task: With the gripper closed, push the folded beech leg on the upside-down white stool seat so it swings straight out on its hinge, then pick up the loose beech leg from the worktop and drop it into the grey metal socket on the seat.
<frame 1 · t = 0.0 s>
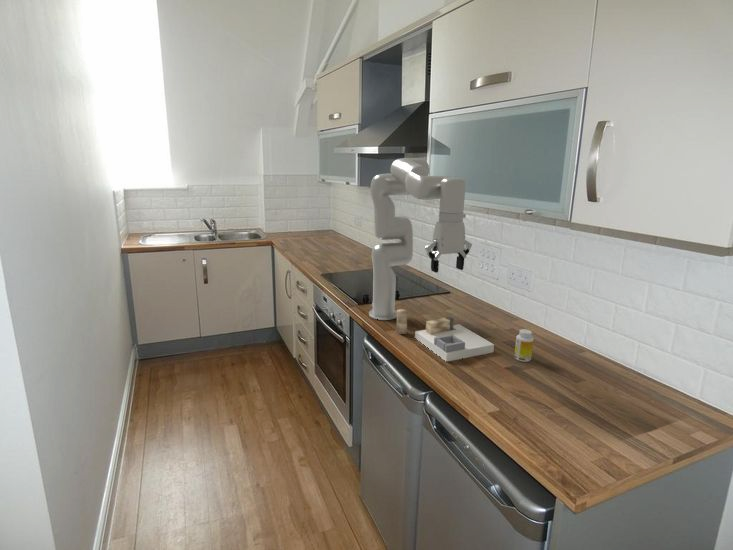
hand: (447, 270, 145), 31 cm above the worktop, tool pointing down, fingers open, 9 cm apart
loose leg: (401, 332, 175), on the worktop
supplement bottle: (522, 359, 154), on the worktop
stool seat: (452, 345, 164), on the worktop
folding leg: (440, 325, 169), point 5 cm above the worktop, hinge at -85.0°
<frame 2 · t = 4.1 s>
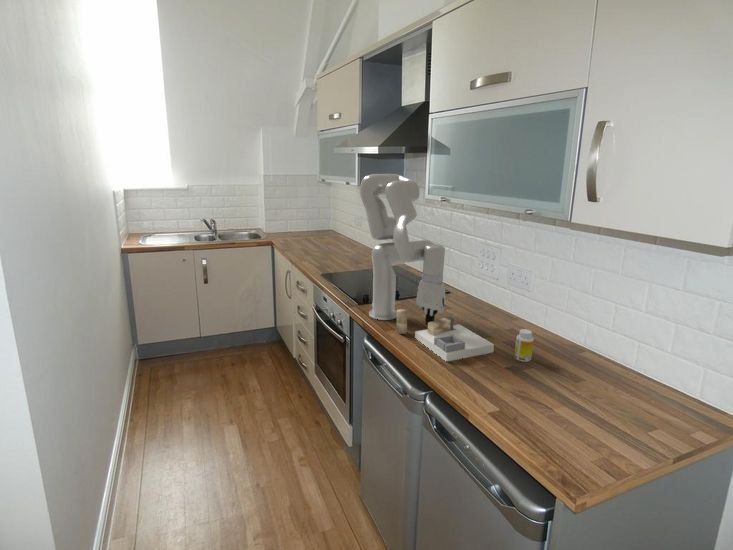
hand: (429, 324, 169), 5 cm above the worktop, tool pointing down, fingers closed
folding leg: (441, 325, 169), point 5 cm above the worktop, hinge at -77.5°, touching gripper
everything else where it was.
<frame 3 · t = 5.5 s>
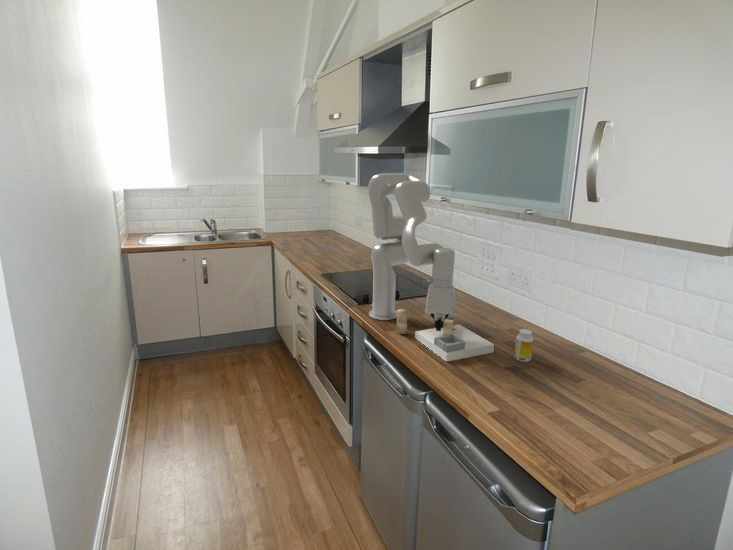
hand: (438, 329, 165), 5 cm above the worktop, tool pointing down, fingers closed
folding leg: (448, 327, 167), point 5 cm above the worktop, hinge at -38.6°, touching gripper
everything else where it was.
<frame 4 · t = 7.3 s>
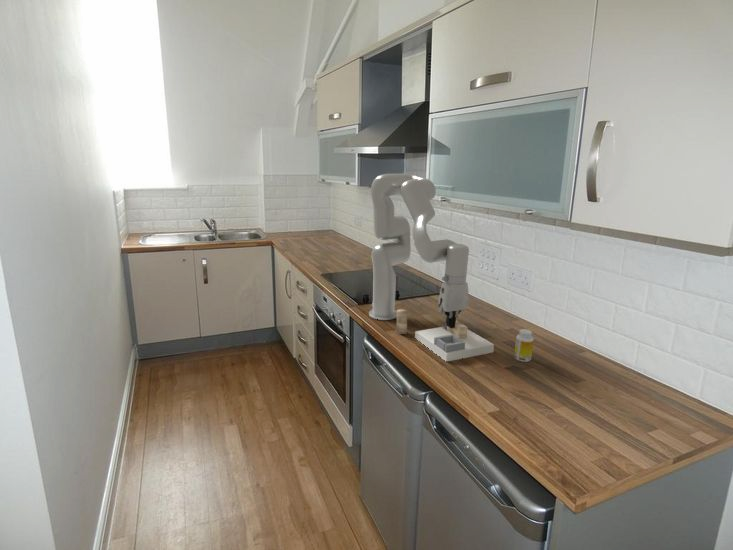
hand: (450, 326, 163), 7 cm above the worktop, tool pointing down, fingers closed
folding leg: (455, 327, 167), point 5 cm above the worktop, hinge at -3.4°
everything else where it was.
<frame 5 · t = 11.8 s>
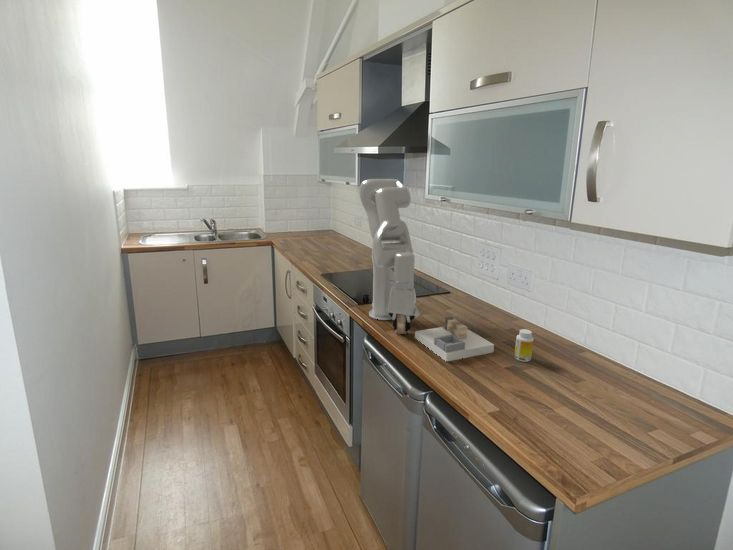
hand: (401, 329, 174), 2 cm above the worktop, tool pointing down, fingers closed on loose leg, 4 cm apart
loose leg: (401, 332, 175), on the worktop, touching gripper
everything else where it was.
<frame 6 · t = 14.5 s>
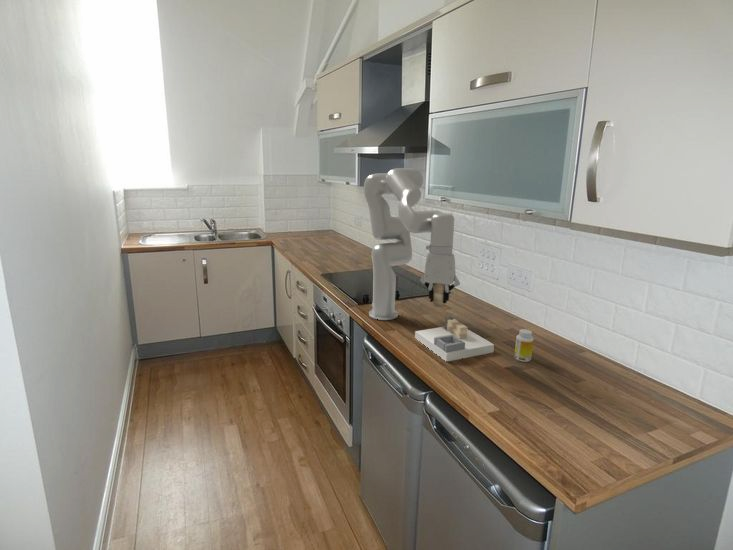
hand: (438, 301, 156), 18 cm above the worktop, tool pointing down, fingers closed on loose leg, 4 cm apart
loose leg: (438, 305, 156), point 17 cm above the worktop, touching gripper
everything else where it was.
when the fingers open (6 cm above the worktop, at t = 17.5 s): loose leg drops 1 cm, resting on stool seat.
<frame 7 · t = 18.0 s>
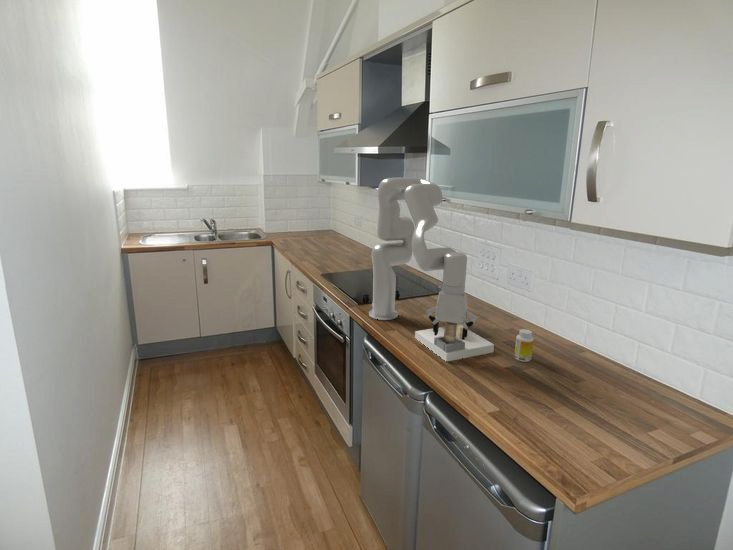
hand: (449, 336, 155), 7 cm above the worktop, tool pointing down, fingers open, 9 cm apart
loose leg: (449, 346, 156), point 3 cm above the worktop, touching stool seat
everything else where it was.
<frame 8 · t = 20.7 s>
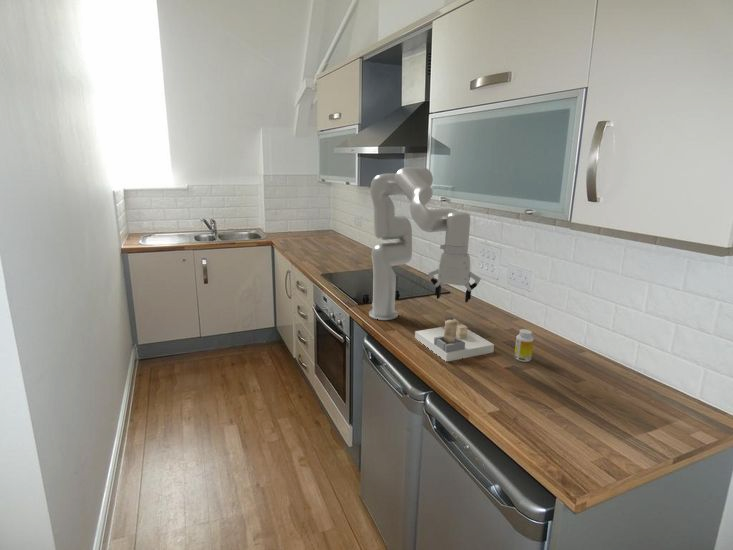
hand: (452, 299, 151), 20 cm above the worktop, tool pointing down, fingers open, 9 cm apart
nothing on the worktop moved.
at the end: folding leg at -3° (first picture: -85°); loose leg 0.0 cm from the target spot on the stool seat, point 3.0 cm above the stool seat's base; loose leg tilted 0° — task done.
